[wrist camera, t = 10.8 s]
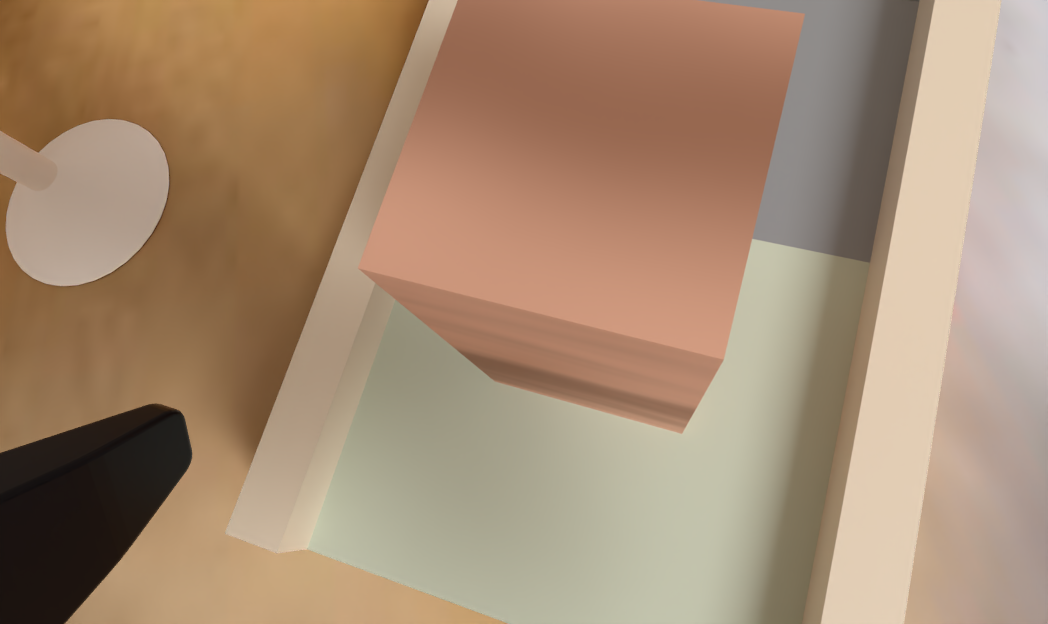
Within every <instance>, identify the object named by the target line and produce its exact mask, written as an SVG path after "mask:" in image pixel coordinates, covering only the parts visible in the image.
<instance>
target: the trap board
mask: <svg viewBox="0 0 1048 624" xmlns="http://www.w3.org/2000/svg"><path fill="white" fill-rule="evenodd" d="M457 1H458V0H429V1H428V4H427V7H426V9H425V12H424V14H423V17H422V20H421V22H420V25H419V28H418V30H417V33H416V35H415V38H414V41H413V43H412V46H411V48H410V51H409V54H408V56H407V59H406V61H405V64H404V67H403V69H402V72H401V75H400V77H399V80H398V82H397V85H396V88H395V90H394V93H393V95H392V98H391V101H390V103H389V106H388V108H387V111H386V114H385V116H384V119H383V122H382V124H381V127H380V129H379V132H378V135H377V137H376V140H375V142H374V145H373V148H372V150H371V153H370V155H369V158H368V161H367V163H366V166H365V169H364V171H363V174H362V176H361V179H360V182H359V184H358V187H357V189H356V192H355V195H354V197H353V200H352V203H351V205H350V208H349V210H348V213H347V216H346V218H345V221H344V223H343V226H342V229H341V231H340V234H339V236H338V239H337V242H336V244H335V247H334V250H333V252H332V255H331V257H330V260H329V263H328V265H327V268H326V270H325V273H324V276H323V278H322V281H321V283H320V286H319V289H318V291H317V294H316V297H315V299H314V302H313V304H312V307H311V310H310V312H309V315H308V317H307V320H306V323H305V325H304V328H303V330H302V333H301V336H300V338H299V341H298V344H297V346H296V349H295V351H294V354H293V357H292V359H291V362H290V364H289V367H288V370H287V372H286V375H285V378H284V380H283V383H282V385H281V388H280V391H279V393H278V396H277V398H276V401H275V404H274V406H273V409H272V411H271V414H270V417H269V419H268V422H267V425H266V427H265V430H264V432H263V435H262V438H261V440H260V443H259V445H258V448H257V451H256V453H255V456H254V458H253V461H252V464H251V466H250V469H249V472H248V474H247V477H246V479H245V482H244V485H243V487H242V490H241V492H240V495H239V498H238V500H237V503H236V506H235V508H234V511H233V513H232V516H231V519H230V521H229V524H228V526H227V529H226V532H225V534H227V535H229V536H232V537H235V538H237V539H240V540H243V541H245V542H248V543H251V544H253V545H256V546H259V547H261V548H264V549H267V550H269V551H272V552H275V553H283V552H291V551H298V550H305V549H308V550H310V551H313V552H316V553H318V554H321V555H324V556H327V557H329V558H332V559H335V560H337V561H340V562H343V563H346V564H348V565H351V566H354V567H356V568H359V569H362V570H365V571H367V572H370V573H373V574H375V575H378V576H381V577H384V578H386V579H389V580H392V581H394V582H397V583H400V584H403V585H405V586H408V587H411V588H413V589H416V590H419V591H422V592H424V593H427V594H430V595H432V596H435V597H438V598H441V599H443V600H446V601H449V602H451V603H454V604H457V605H460V606H462V607H465V608H468V609H470V610H473V611H476V612H479V613H481V614H484V615H487V616H489V617H492V618H495V619H498V620H500V621H503V622H506V623H508V624H904V619H905V612H906V606H907V600H908V593H909V587H910V580H911V574H912V568H913V561H914V555H915V549H916V542H917V536H918V529H919V523H920V517H921V510H922V504H923V497H924V491H925V485H926V478H927V472H928V466H929V459H930V453H931V446H932V440H933V434H934V427H935V421H936V414H937V408H938V402H939V395H940V389H941V383H942V376H943V370H944V363H945V357H946V351H947V344H948V338H949V331H950V325H951V319H952V312H953V306H954V300H955V293H956V287H957V280H958V274H959V268H960V261H961V255H962V248H963V242H964V236H965V229H966V223H967V217H968V210H969V204H970V197H971V191H972V185H973V178H974V172H975V165H976V159H977V153H978V146H979V140H980V134H981V127H982V121H983V114H984V108H985V102H986V95H987V89H988V82H989V76H990V70H991V63H992V57H993V51H994V44H995V38H996V31H997V25H998V19H999V12H1000V6H1001V0H699V1H707V2H715V3H723V4H731V5H739V6H747V7H755V8H763V9H771V10H779V11H788V12H796V13H804V14H805V16H804V21H803V25H802V29H801V33H800V38H799V42H798V46H797V50H796V55H795V59H794V63H793V67H792V72H791V76H790V80H789V84H788V89H787V93H786V97H785V101H784V106H783V110H782V114H781V118H780V123H779V127H778V131H777V135H776V140H775V144H774V148H773V152H772V157H771V161H770V165H769V169H768V174H767V178H766V182H765V186H764V191H763V195H762V199H761V203H760V208H759V212H758V216H757V220H756V225H755V229H754V233H753V238H752V242H751V246H750V250H749V255H748V259H747V263H746V267H745V272H744V276H743V280H742V284H741V289H740V293H739V297H738V301H737V306H736V310H735V314H734V318H733V323H732V327H731V331H730V335H729V340H728V344H727V348H726V352H725V357H724V360H723V362H722V364H721V366H720V367H719V369H718V371H717V373H716V374H715V376H714V378H713V380H712V382H711V383H710V385H709V387H708V389H707V390H706V392H705V394H704V396H703V397H702V399H701V401H700V403H699V405H698V406H697V408H696V410H695V412H694V413H693V415H692V417H691V419H690V421H689V422H688V424H687V426H686V428H685V429H684V431H683V433H682V434H681V433H677V432H673V431H670V430H666V429H663V428H659V427H655V426H652V425H648V424H645V423H641V422H638V421H634V420H630V419H627V418H623V417H620V416H616V415H613V414H609V413H605V412H602V411H598V410H595V409H591V408H588V407H584V406H580V405H577V404H573V403H570V402H566V401H563V400H559V399H555V398H552V397H548V396H545V395H541V394H538V393H534V392H530V391H527V390H523V389H520V388H516V387H513V386H509V385H505V384H502V383H498V382H495V381H494V380H492V379H491V378H490V377H489V376H488V375H486V374H485V373H484V372H483V371H481V370H480V369H479V368H478V367H477V366H475V365H474V364H473V363H472V362H471V361H469V360H468V359H467V358H466V357H464V356H463V355H462V354H461V353H460V352H458V351H457V350H456V349H455V348H454V347H452V346H451V345H450V344H449V343H448V342H446V341H445V340H444V339H443V338H441V337H440V336H439V335H438V334H437V333H435V332H434V331H433V330H432V329H431V328H429V327H428V326H427V325H426V324H425V323H423V322H422V321H421V320H420V319H418V318H417V317H416V316H415V315H414V314H412V313H411V312H410V311H409V310H408V309H406V308H405V307H404V306H403V305H401V304H400V303H399V302H398V301H397V300H395V299H394V298H393V297H392V296H391V295H389V294H388V293H387V292H386V291H385V290H383V289H382V288H381V287H380V286H378V285H377V284H376V283H375V282H374V281H372V280H371V279H370V278H369V277H368V276H366V275H365V274H364V273H363V272H362V271H360V270H359V269H358V266H359V263H360V261H361V258H362V255H363V253H364V250H365V247H366V245H367V242H368V239H369V237H370V234H371V231H372V229H373V226H374V223H375V220H376V218H377V215H378V212H379V210H380V207H381V204H382V202H383V199H384V196H385V194H386V191H387V188H388V186H389V183H390V180H391V178H392V175H393V172H394V170H395V167H396V164H397V162H398V159H399V156H400V154H401V151H402V148H403V145H404V143H405V140H406V137H407V135H408V132H409V129H410V127H411V124H412V121H413V119H414V116H415V113H416V111H417V108H418V105H419V103H420V100H421V97H422V95H423V92H424V89H425V87H426V84H427V81H428V79H429V76H430V73H431V70H432V68H433V65H434V62H435V60H436V57H437V54H438V52H439V49H440V46H441V44H442V41H443V38H444V36H445V33H446V30H447V28H448V25H449V22H450V20H451V17H452V14H453V12H454V9H455V6H456V4H457Z"/></svg>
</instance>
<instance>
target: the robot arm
mask: <svg viewBox="0 0 1048 624" xmlns="http://www.w3.org/2000/svg"><path fill="white" fill-rule="evenodd" d="M191 459H192V448H191V444H190V440H189V435H188V431H187V426H186V422H185V418H184V416H183V414H182V413H181V412H180V411H179V410H177V409H174V408H171V407H167V406H164V405H161V404H149V405H146V406H142V407H139V408H136V409H133V410H130V411H127V412H124V413H121V414H118V415H115V416H112V417H109V418H106V419H103V420H100V421H97V422H94V423H91V424H87V425H84V426H81V427H78V428H75V429H72V430H69V431H66V432H63V433H60V434H57V435H54V436H51V437H48V438H45V439H42V440H39V441H36V442H32V443H29V444H26V445H23V446H20V447H17V448H14V449H11V450H8V451H5V452H2V453H0V624H65V623H66V621H67V620H68V619H69V618H70V617H71V616H72V615H73V614H74V612H75V611H76V610H77V609H78V608H79V607H80V606H81V604H82V603H83V602H84V601H85V600H86V599H87V598H88V597H89V595H90V594H91V593H92V592H93V591H94V590H95V589H96V587H97V586H98V585H99V584H100V583H101V582H102V581H103V580H104V578H105V577H106V576H107V575H108V574H109V573H110V572H111V570H112V569H113V568H114V567H115V566H116V564H117V563H118V562H119V561H120V560H121V558H122V557H123V556H124V554H125V553H126V552H127V551H128V549H129V548H130V547H131V545H132V544H133V543H134V541H135V540H136V539H137V537H138V536H139V535H140V533H141V532H142V531H143V529H144V528H145V526H146V525H147V524H148V522H149V521H150V520H151V518H152V517H153V516H154V514H155V513H156V512H157V510H158V509H159V507H160V506H161V505H162V503H163V502H164V501H165V499H166V498H167V497H168V495H169V494H170V493H171V491H172V490H173V488H174V487H175V486H176V484H177V483H178V482H179V480H180V479H181V478H182V476H183V475H184V473H185V472H186V471H187V469H188V467H189V465H190V463H191Z"/></svg>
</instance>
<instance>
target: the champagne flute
mask: <svg viewBox="0 0 1048 624" xmlns="http://www.w3.org/2000/svg"><path fill="white" fill-rule="evenodd" d="M0 174H2V175H4V176H6V177H8V178H10V179H12V180H14V181H16V182H17V183H16V185H15V188H14V190H13V193H12V195H11V198H10V201H9V206H8V210H7V214H6V235H7V242H8V246H9V249H10V251H11V253H12V256H13V258H14V260H15V261H16V262H17V264H18V265H19V266H20V268H21V269H22V270H23V271H24V272H26V273H27V274H28V275H29V276H31V277H32V278H34V279H36V280H38V281H41V282H43V283H45V284H50V285H57V286H72V285H80V284H84V283H87V282H91V281H95V280H97V279H99V278H101V277H103V276H105V275H107V274H109V273H111V272H113V271H114V270H116V269H117V268H119V267H120V266H121V265H123V264H124V263H126V262H127V261H128V260H129V259H130V258H131V257H132V256H133V255H134V254H135V253H136V252H137V251H138V250H139V249H140V248H141V247H142V246H143V245H144V243H145V242H146V241H147V239H148V238H149V237H150V235H151V234H152V233H153V231H154V229H155V227H156V225H157V223H158V221H159V220H160V218H161V215H162V212H163V209H164V207H165V204H166V201H167V195H168V189H169V168H168V164H167V160H166V156H165V153H164V151H163V150H162V148H161V146H160V144H159V142H158V141H157V140H156V139H155V138H154V137H153V136H152V135H151V133H150V132H149V131H147V130H145V129H144V128H142V127H141V126H139V125H137V124H134V123H131V122H128V121H125V120H116V119H104V120H95V121H91V122H88V123H85V124H81V125H78V126H76V127H74V128H72V129H70V130H68V131H66V132H64V133H62V134H61V135H60V136H58V137H57V138H55V139H54V140H52V141H51V142H49V143H48V144H47V145H46V146H45V147H44V148H43V149H42V150H41V151H40V152H39V153H38V152H36V151H34V150H32V149H31V148H29V147H27V146H25V145H24V144H22V143H20V142H19V141H17V140H15V139H13V138H12V137H10V136H8V135H7V134H5V133H3V132H1V131H0Z"/></svg>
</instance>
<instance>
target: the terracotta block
mask: <svg viewBox="0 0 1048 624" xmlns="http://www.w3.org/2000/svg"><path fill="white" fill-rule="evenodd" d="M804 16H805V14H804V13H796V12H788V11H779V10H771V9H763V8H755V7H747V6H739V5H731V4H723V3H715V2H707V1H699V0H458V1H457V4H456V6H455V9H454V12H453V14H452V17H451V20H450V22H449V25H448V28H447V30H446V33H445V36H444V38H443V41H442V44H441V46H440V49H439V52H438V54H437V57H436V60H435V62H434V65H433V68H432V70H431V73H430V76H429V79H428V81H427V84H426V87H425V89H424V92H423V95H422V97H421V100H420V103H419V105H418V108H417V111H416V113H415V116H414V119H413V121H412V124H411V127H410V129H409V132H408V135H407V137H406V140H405V143H404V145H403V148H402V151H401V154H400V156H399V159H398V162H397V164H396V167H395V170H394V172H393V175H392V178H391V180H390V183H389V186H388V188H387V191H386V194H385V196H384V199H383V202H382V204H381V207H380V210H379V212H378V215H377V218H376V220H375V223H374V226H373V229H372V231H371V234H370V237H369V239H368V242H367V245H366V247H365V250H364V253H363V255H362V258H361V261H360V263H359V266H358V269H359V270H360V271H362V272H363V273H364V274H365V275H366V276H368V277H369V278H370V279H371V280H372V281H374V282H375V283H376V284H377V285H378V286H380V287H381V288H382V289H383V290H385V291H386V292H387V293H388V294H389V295H391V296H392V297H393V298H394V299H395V300H397V301H398V302H399V303H400V304H401V305H403V306H404V307H405V308H406V309H408V310H409V311H410V312H411V313H412V314H414V315H415V316H416V317H417V318H418V319H420V320H421V321H422V322H423V323H425V324H426V325H427V326H428V327H429V328H431V329H432V330H433V331H434V332H435V333H437V334H438V335H439V336H440V337H441V338H443V339H444V340H445V341H446V342H448V343H449V344H450V345H451V346H452V347H454V348H455V349H456V350H457V351H458V352H460V353H461V354H462V355H463V356H464V357H466V358H467V359H468V360H469V361H471V362H472V363H473V364H474V365H475V366H477V367H478V368H479V369H480V370H481V371H483V372H484V373H485V374H486V375H488V376H489V377H490V378H491V379H492V380H494V381H495V382H498V383H502V384H505V385H509V386H513V387H516V388H520V389H523V390H527V391H530V392H534V393H538V394H541V395H545V396H548V397H552V398H555V399H559V400H563V401H566V402H570V403H573V404H577V405H580V406H584V407H588V408H591V409H595V410H598V411H602V412H605V413H609V414H613V415H616V416H620V417H623V418H627V419H630V420H634V421H638V422H641V423H645V424H648V425H652V426H655V427H659V428H663V429H666V430H670V431H673V432H677V433H681V434H682V433H683V431H684V429H685V428H686V426H687V424H688V422H689V421H690V419H691V417H692V415H693V413H694V412H695V410H696V408H697V406H698V405H699V403H700V401H701V399H702V397H703V396H704V394H705V392H706V390H707V389H708V387H709V385H710V383H711V382H712V380H713V378H714V376H715V374H716V373H717V371H718V369H719V367H720V366H721V364H722V362H723V360H724V357H725V352H726V348H727V344H728V340H729V335H730V331H731V327H732V323H733V318H734V314H735V310H736V306H737V301H738V297H739V293H740V289H741V284H742V280H743V276H744V272H745V267H746V263H747V259H748V255H749V250H750V246H751V242H752V238H753V233H754V229H755V225H756V220H757V216H758V212H759V208H760V203H761V199H762V195H763V191H764V186H765V182H766V178H767V174H768V169H769V165H770V161H771V157H772V152H773V148H774V144H775V140H776V135H777V131H778V127H779V123H780V118H781V114H782V110H783V106H784V101H785V97H786V93H787V89H788V84H789V80H790V76H791V72H792V67H793V63H794V59H795V55H796V50H797V46H798V42H799V38H800V33H801V29H802V25H803V21H804Z"/></svg>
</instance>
